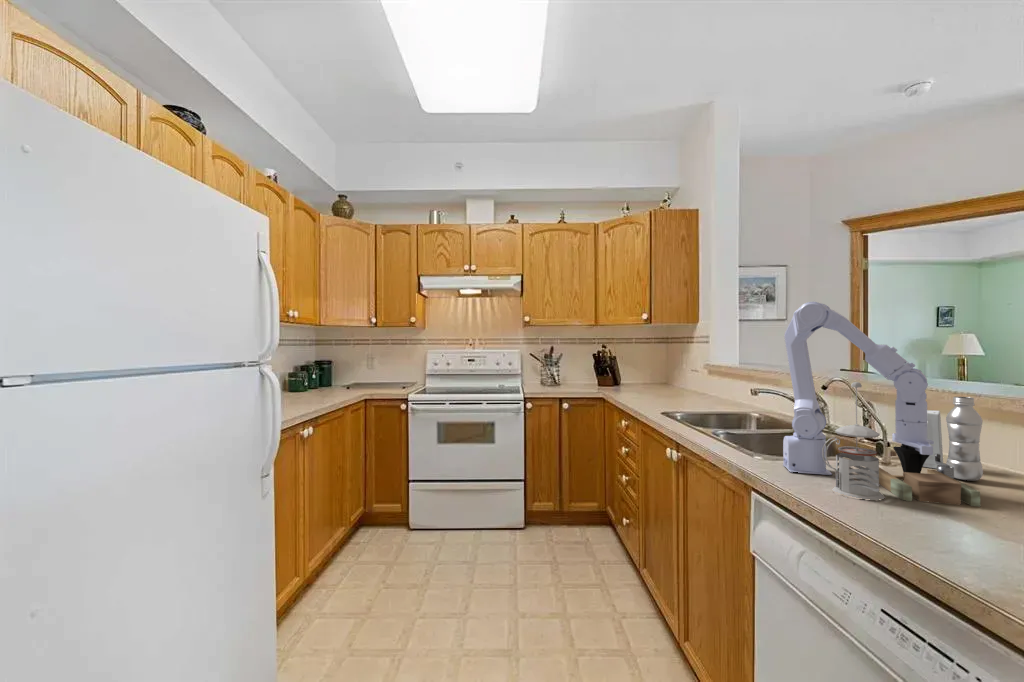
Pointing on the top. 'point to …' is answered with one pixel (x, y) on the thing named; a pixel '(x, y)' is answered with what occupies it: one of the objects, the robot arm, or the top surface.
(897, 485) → the bay
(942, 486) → the box
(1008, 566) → the top surface
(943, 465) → the crank handle cylinder
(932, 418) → the skincare box
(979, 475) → the silver metal bottle
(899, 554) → the top surface
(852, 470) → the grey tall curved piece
